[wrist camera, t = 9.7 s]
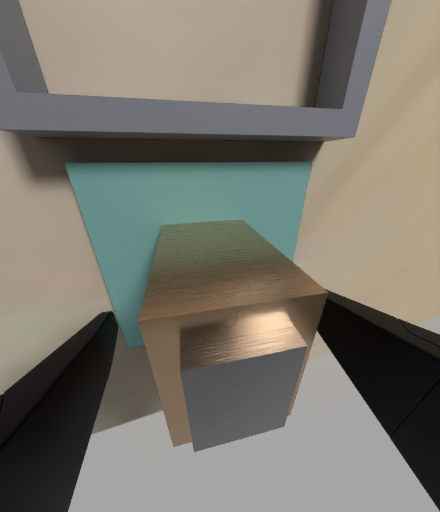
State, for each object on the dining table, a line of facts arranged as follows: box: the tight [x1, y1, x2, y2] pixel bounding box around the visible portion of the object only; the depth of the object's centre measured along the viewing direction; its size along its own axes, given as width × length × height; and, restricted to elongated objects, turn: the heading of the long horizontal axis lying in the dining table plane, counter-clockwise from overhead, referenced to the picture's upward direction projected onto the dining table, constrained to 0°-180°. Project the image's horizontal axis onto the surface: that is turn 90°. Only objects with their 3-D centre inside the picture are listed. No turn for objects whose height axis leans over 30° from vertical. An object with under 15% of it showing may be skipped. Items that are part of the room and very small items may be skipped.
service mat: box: [64, 162, 312, 349], centre depth 12 cm, size 12×12×1 cm
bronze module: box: [138, 219, 328, 452], centre depth 8 cm, size 4×6×8 cm
